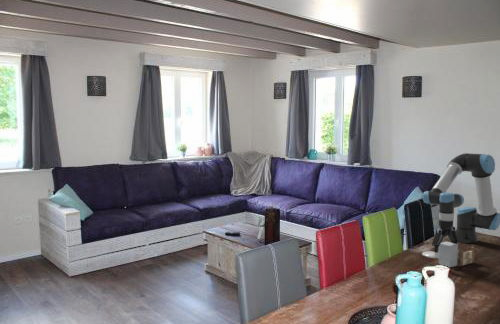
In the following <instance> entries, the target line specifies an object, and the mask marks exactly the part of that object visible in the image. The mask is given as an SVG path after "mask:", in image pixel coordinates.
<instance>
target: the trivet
mask: <svg viewBox="0 0 500 324" xmlns="http://www.w3.org/2000/svg"><path fill="white" fill-rule="evenodd" d="M421 255H422V256H423V257H425V258H428V259H436V258H435V252H434V251H431V250H430V251H427V250H426V251H423V252H422V253H421Z"/></svg>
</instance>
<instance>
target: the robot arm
mask: <svg viewBox="0 0 500 324" xmlns="http://www.w3.org/2000/svg"><path fill="white" fill-rule="evenodd" d="M495 170H496V162H495V159H494V157H493V156H492V155H491V154H486V153H469V152H468V153H467V152H466V153H465V152H464V153H462V154H459V155H457V156H455V157H453V158H452V159H451V160H450V161H449V162H448V163H447V165H446V169H445V170H444V171H443V173H442V174H441V176H440V177H439V179H438V180H437V181H436V183H435V184H434V185H433V187H432V188H431V190H426V191H424V192H423V193H422V200H423V203H425V204H428V205H429V204H430V205H436V206H439V207H438V209H439V210H438V219H439V220H438V226H439V229H438V228H436V230H435V235H434V237H433V240H432V243H431V246H432V247H434V251H433V252H435V258H434V259H439V258H440V247H439V245H440V243H443V240H444V238H445V237H448V239H449V241H450V242H451V243H456V244H458V243H462V244H463V243H464V244H476V243H478V241H479V238H478V235H477V232H476V228H477V229H484V230H489V231H496V230H498V229H499V227H500V213H499V212H497V209H496V208H495V207H494V201H493V200H494V199H493V192H492V184H491V176H492V175H493V173H494V172H495ZM462 172H469V173H470V172H471V177H473V178H474V182H475V191H476V197H477V204H478V208H477V207H476V206H463V207H460V206H462V205H463V204H464V202H465V199H464V196H463V195H462V194H461V193H453V192H447V191H448V190H449V188H450V187H451V185H452V184H453V183H454V181H455V179H456V178H457V176H458V175H461V174H462ZM454 208H458V209H457V213H456V226H454V211H455V210H454Z"/></svg>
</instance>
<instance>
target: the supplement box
mask: <svg viewBox="0 0 500 324" xmlns="http://www.w3.org/2000/svg"><path fill="white" fill-rule="evenodd" d="M439 247H440V258H438V265H440V266H443V265H445V266H444V267H446V266H448V267H447V268H454V267H457V266H458V256H459V249H458V248H459V244H458V243H457V244H455V243H452V242H451V241H444V242H443V241H442V242H441V243H440V245H439Z"/></svg>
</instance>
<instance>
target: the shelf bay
mask: <svg viewBox="0 0 500 324" xmlns="http://www.w3.org/2000/svg"><path fill="white" fill-rule="evenodd" d="M455 244H456V243H455ZM474 263H475V247H474V246H470V249H469V250H467V251H464V249H458V266H460V267H462V266H465V265H469V264H470V265H471V264H474Z"/></svg>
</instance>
